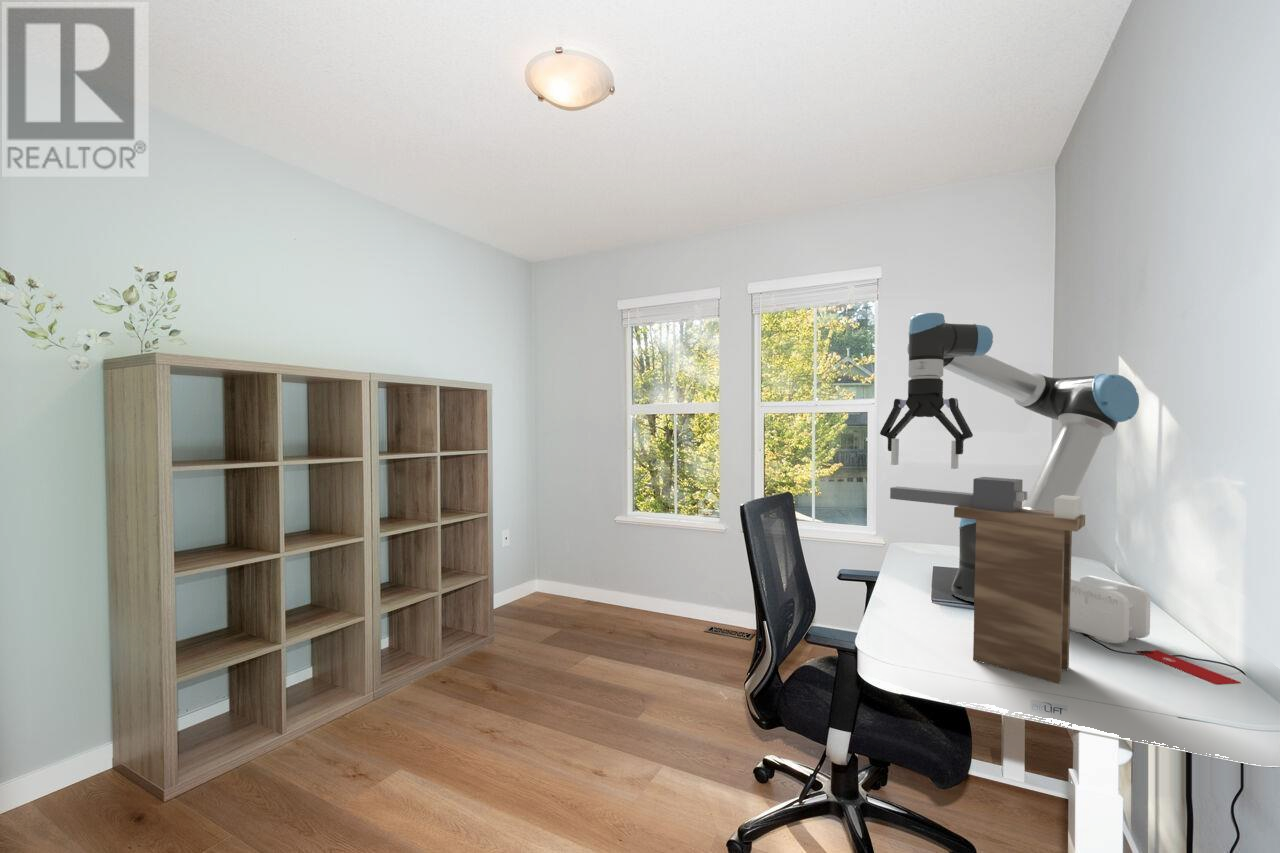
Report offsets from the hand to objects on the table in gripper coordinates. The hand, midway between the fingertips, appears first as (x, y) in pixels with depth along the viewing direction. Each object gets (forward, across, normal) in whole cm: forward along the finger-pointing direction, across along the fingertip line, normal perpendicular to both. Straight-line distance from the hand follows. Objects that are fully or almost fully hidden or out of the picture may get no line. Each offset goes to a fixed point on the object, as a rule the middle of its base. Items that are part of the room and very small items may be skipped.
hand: (923, 466), depth 137 cm
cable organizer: (+37, +32, +20) cm, 53 cm away
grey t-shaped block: (+7, +11, -13) cm, 18 cm away
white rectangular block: (+7, +30, -13) cm, 33 cm away
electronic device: (+37, +46, +10) cm, 60 cm away
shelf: (+37, +22, -13) cm, 45 cm away
